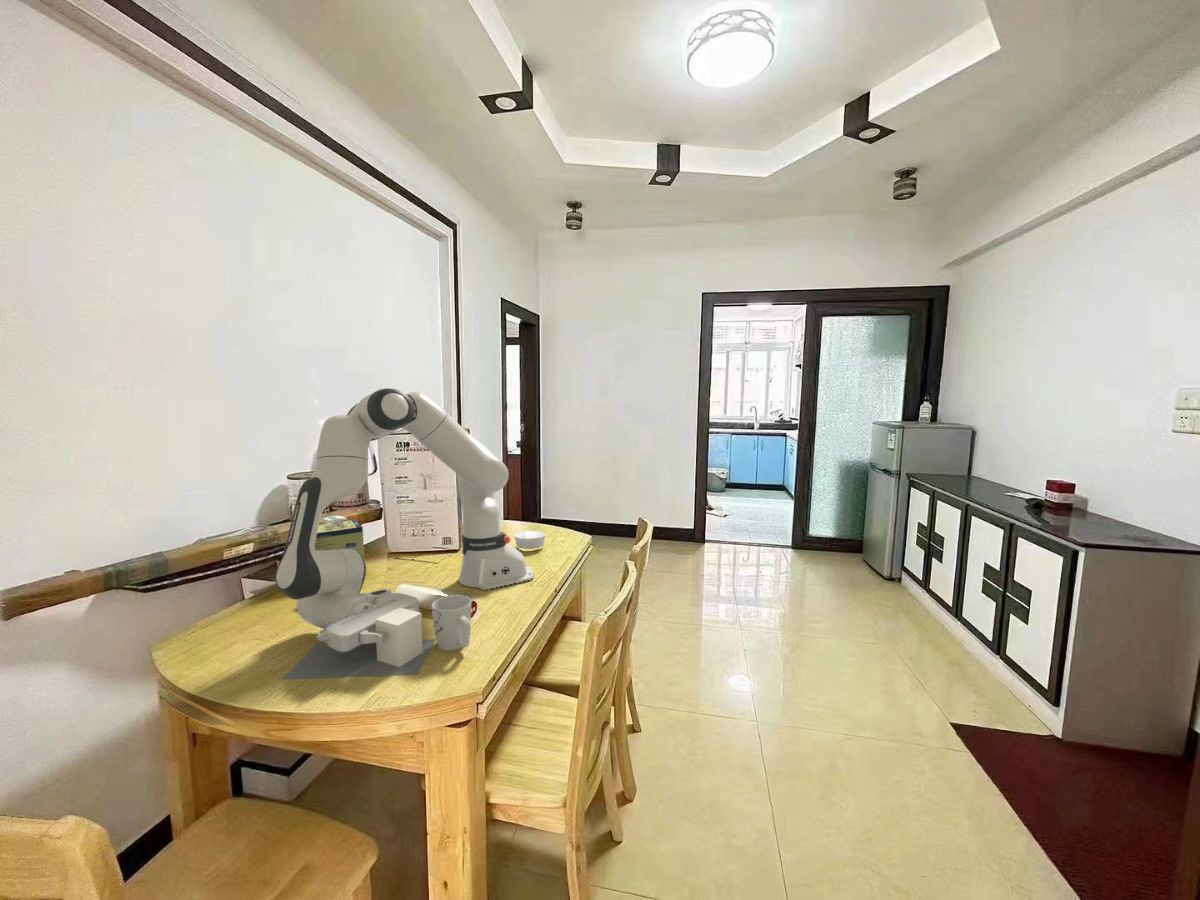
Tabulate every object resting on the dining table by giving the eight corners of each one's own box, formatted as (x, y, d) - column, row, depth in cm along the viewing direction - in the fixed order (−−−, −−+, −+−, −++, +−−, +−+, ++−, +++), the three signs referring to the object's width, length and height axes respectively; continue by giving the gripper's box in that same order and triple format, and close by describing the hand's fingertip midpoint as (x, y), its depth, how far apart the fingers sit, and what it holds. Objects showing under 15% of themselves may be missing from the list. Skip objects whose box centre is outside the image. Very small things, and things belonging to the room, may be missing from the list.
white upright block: (401, 646, 107) (399, 607, 106) (422, 652, 104) (421, 612, 103) (377, 660, 101) (375, 619, 100) (399, 667, 98) (397, 625, 97)
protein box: (304, 575, 150) (301, 526, 148) (359, 564, 159) (357, 519, 157) (308, 585, 142) (305, 534, 140) (366, 574, 151) (363, 526, 149)
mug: (486, 650, 106) (485, 607, 105) (450, 665, 100) (449, 619, 99) (460, 632, 114) (459, 591, 113) (426, 644, 108) (425, 602, 107)
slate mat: (436, 640, 110) (435, 639, 110) (417, 676, 96) (417, 674, 96) (318, 644, 108) (318, 642, 108) (281, 681, 94) (281, 679, 94)
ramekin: (509, 547, 178) (508, 533, 178) (534, 541, 186) (534, 528, 185) (524, 555, 170) (524, 540, 169) (551, 548, 177) (551, 535, 176)
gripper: (310, 621, 97) (358, 636, 92) (392, 586, 116) (435, 596, 110) (312, 651, 98) (359, 667, 92) (393, 611, 117) (436, 622, 111)
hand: (401, 628), depth 101 cm, fingers open, 8 cm apart
